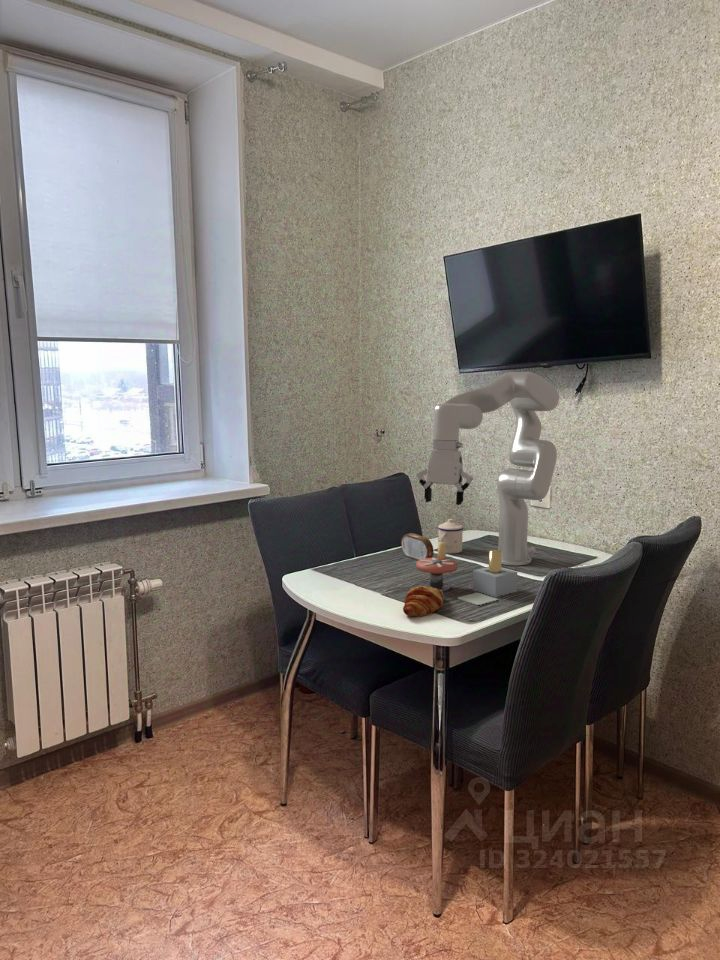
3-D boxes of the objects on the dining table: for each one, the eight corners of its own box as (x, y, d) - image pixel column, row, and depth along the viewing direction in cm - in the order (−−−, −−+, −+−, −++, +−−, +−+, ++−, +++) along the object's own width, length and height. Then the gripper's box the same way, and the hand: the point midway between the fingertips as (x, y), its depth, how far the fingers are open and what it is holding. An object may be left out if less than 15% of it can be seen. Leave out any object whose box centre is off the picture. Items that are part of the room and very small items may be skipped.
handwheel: (438, 560, 218) (438, 539, 217) (465, 568, 208) (466, 547, 207) (408, 566, 211) (408, 545, 210) (435, 575, 201) (435, 553, 200)
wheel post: (437, 583, 216) (437, 563, 215) (455, 589, 209) (456, 569, 209) (417, 587, 211) (417, 568, 210) (435, 594, 205) (435, 574, 204)
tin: (434, 563, 240) (434, 538, 238) (427, 564, 238) (427, 539, 237) (406, 554, 252) (406, 530, 251) (399, 555, 250) (399, 532, 249)
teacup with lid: (444, 546, 262) (444, 515, 261) (466, 549, 257) (467, 518, 256) (429, 553, 252) (429, 521, 251) (452, 556, 247) (453, 524, 246)
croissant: (430, 608, 203) (419, 583, 204) (460, 597, 198) (448, 571, 199) (397, 630, 185) (385, 601, 186) (429, 618, 180) (416, 589, 181)
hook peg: (494, 588, 210) (495, 549, 208) (503, 591, 207) (504, 551, 206) (485, 590, 208) (486, 550, 206) (494, 593, 205) (495, 553, 203)
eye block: (493, 584, 214) (494, 565, 213) (516, 591, 207) (517, 571, 206) (472, 590, 209) (473, 570, 208) (495, 597, 201) (495, 577, 201)
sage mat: (477, 593, 205) (477, 592, 205) (498, 600, 199) (498, 599, 198) (457, 598, 200) (457, 597, 200) (478, 606, 194) (478, 604, 194)
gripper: (477, 446, 210) (475, 504, 212) (423, 444, 217) (421, 499, 219) (469, 448, 203) (467, 507, 205) (413, 445, 211) (412, 502, 213)
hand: (443, 503), depth 212 cm, fingers open, 9 cm apart
